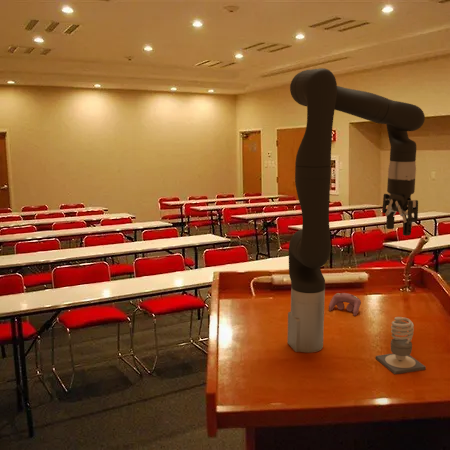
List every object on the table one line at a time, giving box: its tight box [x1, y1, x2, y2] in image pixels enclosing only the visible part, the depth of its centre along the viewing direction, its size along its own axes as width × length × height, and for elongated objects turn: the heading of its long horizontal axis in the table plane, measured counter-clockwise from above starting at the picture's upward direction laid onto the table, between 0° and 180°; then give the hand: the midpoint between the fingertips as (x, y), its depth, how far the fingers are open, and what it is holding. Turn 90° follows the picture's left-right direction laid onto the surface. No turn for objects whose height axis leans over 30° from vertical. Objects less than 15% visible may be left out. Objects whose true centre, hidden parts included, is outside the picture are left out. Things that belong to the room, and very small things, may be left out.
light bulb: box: [390, 316, 415, 361], centre depth 139 cm, size 6×6×12 cm
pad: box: [375, 352, 427, 375], centre depth 140 cm, size 9×9×1 cm
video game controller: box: [328, 292, 362, 317], centre depth 177 cm, size 10×5×7 cm, turn 58°
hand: (398, 232), depth 156 cm, fingers open, 8 cm apart
